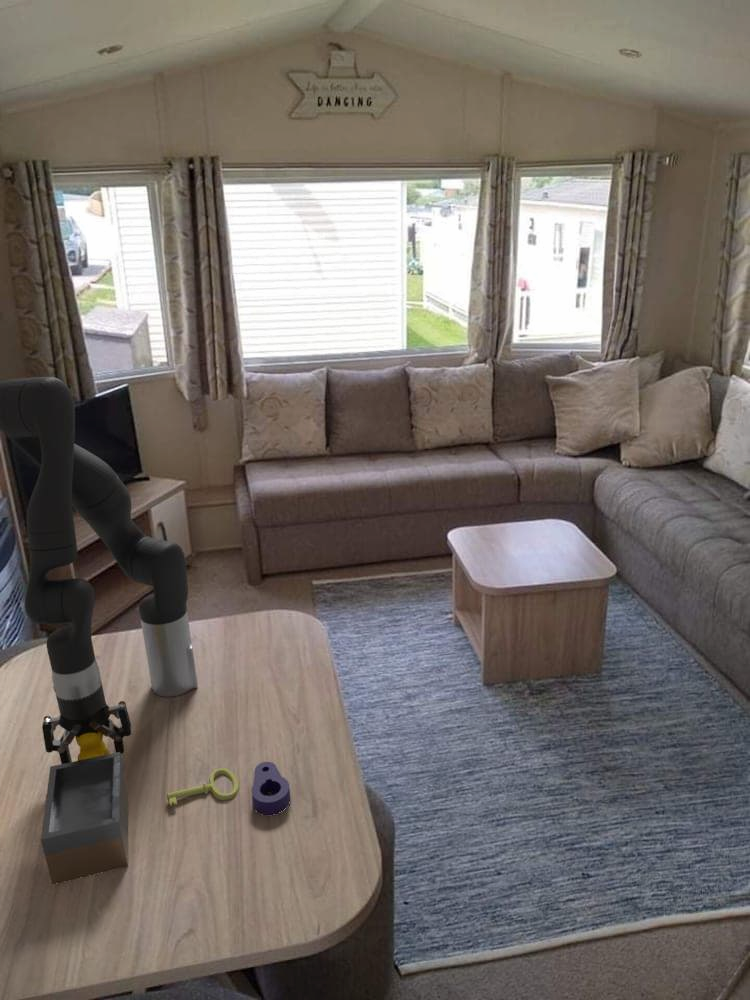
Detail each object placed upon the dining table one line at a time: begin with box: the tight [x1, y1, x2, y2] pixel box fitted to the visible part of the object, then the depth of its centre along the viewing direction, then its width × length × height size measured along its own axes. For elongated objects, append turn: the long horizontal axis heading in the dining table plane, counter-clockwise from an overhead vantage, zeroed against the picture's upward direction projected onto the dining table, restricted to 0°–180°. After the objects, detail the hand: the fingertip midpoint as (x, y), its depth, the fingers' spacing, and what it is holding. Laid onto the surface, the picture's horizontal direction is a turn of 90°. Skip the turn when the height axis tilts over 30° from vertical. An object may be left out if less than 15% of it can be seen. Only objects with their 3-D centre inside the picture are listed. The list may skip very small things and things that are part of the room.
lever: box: [251, 761, 291, 816], centre depth 132 cm, size 12×6×3 cm, turn 15°
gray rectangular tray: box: [40, 752, 129, 886], centre depth 122 cm, size 11×16×9 cm
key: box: [166, 767, 240, 807], centre depth 132 cm, size 7×12×2 cm, turn 131°
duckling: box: [74, 732, 110, 761], centre depth 137 cm, size 11×5×10 cm, turn 21°
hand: (94, 759), depth 137 cm, fingers open, 8 cm apart
